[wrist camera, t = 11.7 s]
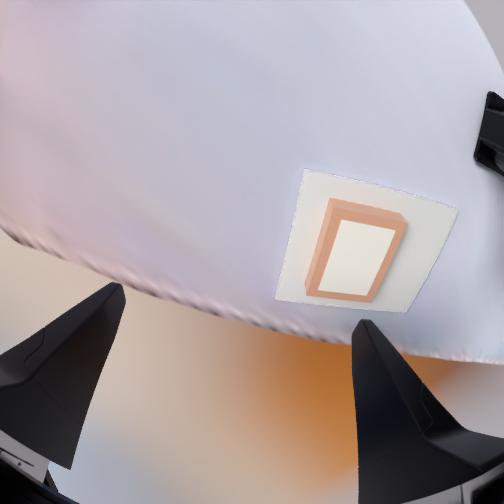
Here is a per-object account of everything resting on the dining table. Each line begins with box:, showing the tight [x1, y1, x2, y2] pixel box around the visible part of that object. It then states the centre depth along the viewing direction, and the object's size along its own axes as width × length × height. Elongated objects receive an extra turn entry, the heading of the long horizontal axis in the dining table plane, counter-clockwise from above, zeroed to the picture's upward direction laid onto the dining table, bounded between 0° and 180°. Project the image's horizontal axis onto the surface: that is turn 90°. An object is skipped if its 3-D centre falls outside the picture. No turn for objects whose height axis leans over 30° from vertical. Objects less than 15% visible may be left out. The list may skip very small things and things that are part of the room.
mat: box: [275, 169, 458, 313], centre depth 22 cm, size 14×12×1 cm
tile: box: [305, 198, 408, 303], centre depth 21 cm, size 2×8×6 cm
